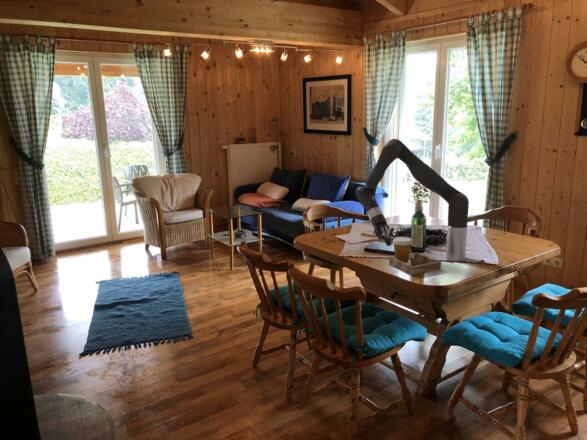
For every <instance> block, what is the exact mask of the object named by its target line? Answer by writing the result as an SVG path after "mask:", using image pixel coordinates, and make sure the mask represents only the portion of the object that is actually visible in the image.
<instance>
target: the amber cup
mask: <svg viewBox="0 0 587 440" xmlns="http://www.w3.org/2000/svg"><path fill="white" fill-rule="evenodd" d="M392 243H393V248H394V250H393V251H394V258H396V259H398V260H400V261H402V262H404V263H407V264H409V261H410V260H409V259H410V253H411V247H412V244H413V241H412V238H411V237H409V236H395V237H394V238H393V240H392Z"/></svg>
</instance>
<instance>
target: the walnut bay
mask: <svg viewBox="0 0 587 440" xmlns="http://www.w3.org/2000/svg"><path fill="white" fill-rule="evenodd" d="M413 256H414V258H413V260H414V261H415V262H418V263H420V264H417V265H411V264H409V263H404V262H402V261H400V260H398V259H396V258H395V257H393V256H389V259H388V266H390V267H393V268H394V269H397V270H399V271H401V272H403V273H405V274H407V275H409V276H411V277H414V276H418V275H424V274H428V273H432V272H438V271H441V269H442V268H441V267H442V261H439V260H438V259H434V258H433V257H430V256H428V255H425V254H423V253H420V252H417V251H415V252H414V255H413Z"/></svg>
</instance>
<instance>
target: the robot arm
mask: <svg viewBox="0 0 587 440" xmlns="http://www.w3.org/2000/svg"><path fill="white" fill-rule="evenodd" d="M397 159H398V160H400V161H401V162H402V163H403V164H404V165H405V166H406V167H407V169H408V171H409V173H410V174H411V176H412V177H413V179H415V181H417V182H418V183H419V184H420V185H421V186H422V187H424V188H426V189H427V190H428V191H431V192H433V193H435V194H437V195H438V196H439V197H441V199H443V200H444V201H445V202H446V203H447V204H448V206H447V209H448V210H447V235H446V251H445V252H446V253H445V258H446V260H449V261H452V262H462V261H465V260H466V253H467V251H466V250H467V235H468V218H469V206H470V205H469V199H468V196H467V195H466V194H464V193H463V192H461V191H460V190H458V189H456V188H455V187H453V186H452V185H451V184H449V183H448V182H447V181H446V179H444V178H443V177H442V176H441V175H440V174H439V173H438V172H437V171H435V169H433V168H432V167H430V165H428V164H427V163H425V162H424V161H423V160H421V158H419V157H418V156H417V155H416V154H414V152H412V151H411V150H410V148H409V147H408V146H407V145H405V144H404V143H403V141H401V140H400V139H398V138H391V139H390V140H389V141H388V142H386V143H385V144H384V145H383V147H382V148H381V151H380V155H379V157H378V159H377V161H376V163H375V165H374V166H373V168H372V169H371V171H370V172H369V174H368V176H367V177H366V179H365V182H364V183H365V185H366V186H359V187H357V188H356V189H355V196H356V198H357V200H358V201H359V203H361V204H362V206H363V207H364V208H365V210H366V213H367V215H368V218H369V220H370V223H371V225H372V227H373V228H374V230H373V231H372V235H373V236H374V237H377V238H378V239H379V240H381V241H382V240H383V241H384V243H385V246H387V247H390V246H392V243H393V241H392V240H391V237H392V236H393V234H394V231H395V228H394V227H390V226H389V225H388V223H387V220H386V218H385V215H384V214H383V211H382V210H381V208H380V206H379V204H378V202H377V200H375V199H373V198H374V197H375V195H376V191H377V188H378V185H379V184H380V182H381V181H382V179H383V177H384V175H385V173H386V171H387V169H388V168H389V166H391V164H392V163H393V162H395V160H397Z"/></svg>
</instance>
